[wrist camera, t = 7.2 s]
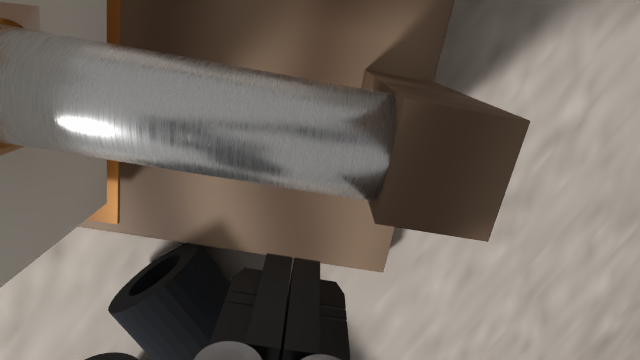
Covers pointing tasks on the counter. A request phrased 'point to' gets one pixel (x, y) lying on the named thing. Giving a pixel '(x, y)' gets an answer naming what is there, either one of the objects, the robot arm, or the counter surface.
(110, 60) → the steel pipe
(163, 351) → the pipe connector
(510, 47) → the counter surface
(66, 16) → the white flat block
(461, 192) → the pipe stand
